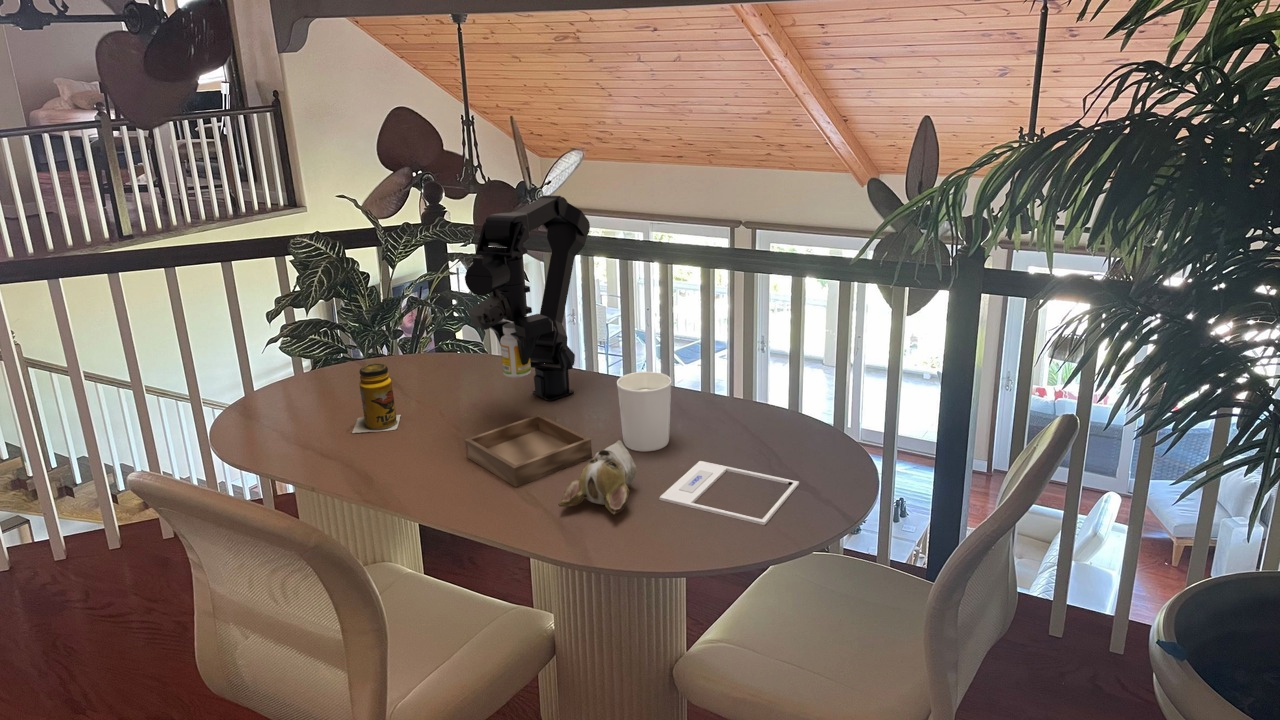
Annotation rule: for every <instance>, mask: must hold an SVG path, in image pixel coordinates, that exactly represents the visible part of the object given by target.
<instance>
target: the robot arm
mask: <svg viewBox="0 0 1280 720" xmlns="http://www.w3.org/2000/svg"><path fill="white" fill-rule="evenodd" d="M541 226H542V228H544V229H545V231H546V241H547V242H548V245H549V248H550V250H551V251H550V252H551V253H550V258H549V263H548V264H549V265H548V269H547V274H546V279H545V286H544V290H543V296H542V300H541V305H540V309H539V310H540V312H539V313H536V314H535V313H534V314H532V313H533V311H532V310H533V309H532V307H531V306H528V303H527V294H528V293H531V286H529V285H526V280H525V266H524V255H526V254H528V249H527V247H525V246H523V245H525V244H526V242H527V241H528V240H529V239H530V238H531V236H530V233H531V232H532V231H534V230H536V229H537V228H539V227H541ZM590 228H591V225H590V221H589V219H588V217H587V216H586V215H585V214H584V212H583V211H582V210H581V209H580V208H577V206H575V205H573V204H571V203H570V202H569V201H568V200H567V199H566V198H565V197H564V196H561V195H551V194H550V195H549V194H546V195H545V194H543V195H542V196H539V197H538V199H536V200H535V201H532V202H530V203H528V204H526V205H524V206H522V207H521V208H518V209H517V210H514V211H512V212H499V213H494V214H493V213H492V214H489V215H488V216H486V218H485V219H484V222H483V224H482V228H481V231H480V235H479V239H478V242H477V247H476V251H475V256H474V257H473V258H472V265H470V266H469V267H468V268H467V270H466V272H465V276H464V282H465V285H466V287H467V289H468V290H469V291H470V293H472V294H474V295H475V296H478V297H484V296H486V295H488V294H489V296H488V297H487V298H486V299H484V300H482V301H480V302H478V303H477V304H475V305H473V306H472V307H471V308H469V309H468V310H467V315H468V317H469V319H470V321H471V323H472V325H473V327H474V328H479V329H481V330H482V331H487V330H489V329H490V330H492V331H493V332H494V334H495V336H496V339H497V341H498V344H499V346H500V347H501V344H500V340H501V337H502V336H504V335H505V334H504V333H503V325H505V324H507V323H514V324H515V331H516V332H514V333H511V334H510V335H511V336H513V337H514V338H515V339H516V340H517V343H518V349H519V354H520V359H521V363H522V365H525V364H527V363H528V361H529V359H530V363H531V369H533V368H534V376H533V380H534V381H533V382H534V390H532V395H535V396H537V397H539V398H540V399H543V400H546V401H548V402H552V401H555V400H558V399H560V398H561V399H562V398H564V397H567V396H571V395H573V394H575V391H574V390H573V389H571V388H570V378H569V370H572V369H573V367H574V365H575V361H576V360H575V359H576V355H575V352H573V350H572V349H571V348H570V347H569V346H568V335H567V333H566V329H565V328H564V325H563V321H564V316H565V310H566V305H567V300H568V296H569V289H570V284H571V279H572V272H573V268H574V262H575V258H576V256H577V255H578V254H579V253H580V252H581V251H582V250H583V248H584V247H585V246H586V245H585V244H586V242H587V238H588V236H589V233H590ZM528 314H531V315H528ZM527 315H528V316H527ZM544 363H545V364H544Z"/></svg>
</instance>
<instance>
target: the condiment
mask: <svg viewBox="0 0 1280 720" xmlns="http://www.w3.org/2000/svg"><path fill="white" fill-rule="evenodd" d="M359 375H360V376H359V379H360V381H359V390H360V398H361V403H362V405H361V406H362V410H363V411H362V412H363V417H357V419H356V422H355V425H354V428H353V429H352V432H351V434H359V433H368V432H371V433H373V432H388V431H396V430H397V429H398V426H399V424H400V420H401V414H397V413H396V412H397V411H396V405H395V397H394V390H393V382H392V379H391V378H390V373H389V368H388V366H387V365H386V364H384V363H369V364H366V365H363V366H362V367H360V369H359Z"/></svg>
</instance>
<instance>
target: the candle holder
mask: <svg viewBox="0 0 1280 720" xmlns="http://www.w3.org/2000/svg"><path fill="white" fill-rule="evenodd" d="M672 383H673V382H672V378H671V377H670V376H669V375H667V374H666V373H662V372H657V371H637V372H632V373H631V372H630V373H627V374H624V375H622V376H620V377H619V378H618V379H617V380H616V386H617V395H618V404H619V414H620V422H621V423H620V424H621V430H622V431H621V432H622V442H623V445H624V446H625V447H626V449H627V448H628V449H629V450H632V451H636V452H654V451H658V450H661V449H663V448H665V447H666V446H667V445H668V444H669V442H670V427H671V424H670V423H671V400H672V399H671V398H672Z"/></svg>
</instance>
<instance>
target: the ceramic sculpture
mask: <svg viewBox="0 0 1280 720" xmlns="http://www.w3.org/2000/svg"><path fill="white" fill-rule="evenodd" d="M636 475H637V465H636V464H635V461H634V459H633V458H632V456H631V453H630V452H629V451H628V449H627V447H626V446H625V444H624V442H623V440H620V439H619V440H617V441H616V442H615V443H613V444H611V445H609V446H607V447H606V448H605V449H601V450H599V451H598V452H596V453H595V455H594V457H592V458H591V460H589V461H588V463H587V464H586V465H585V467H584V468H583V469H582V471H581V474H580V476H579V478H578V479H574V480H572V481H570V483H569V485H567V486H566V488H565V490H564V494H562V495H563V496H562V498H561V501H560V502H559V503H558V506H559V507H562V508H563V507H573V506H578V505H580V504H581V503H582V502H583V500H584V499H585V498H586V500H587V501H589V502H590V503H593V504H596V505H605V506H604V507H605V508H606V509H607V511H609V512H610V513H611V514H613V515H616V514H618V513H621V511H622V510H624V508H625V507H626V506H627V504H628V500H629V496H630V490H629V486H630V485H631V484H632V483H633V482H634V480H635V478H636Z"/></svg>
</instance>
